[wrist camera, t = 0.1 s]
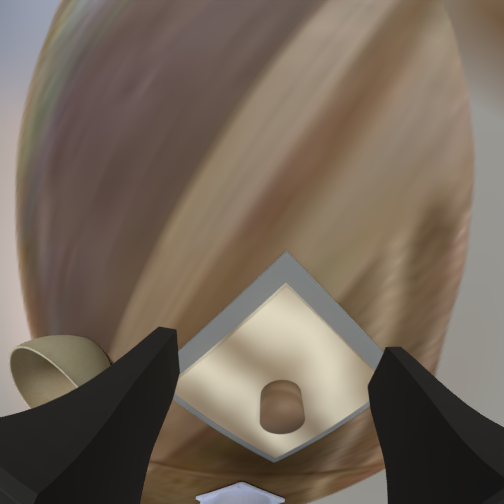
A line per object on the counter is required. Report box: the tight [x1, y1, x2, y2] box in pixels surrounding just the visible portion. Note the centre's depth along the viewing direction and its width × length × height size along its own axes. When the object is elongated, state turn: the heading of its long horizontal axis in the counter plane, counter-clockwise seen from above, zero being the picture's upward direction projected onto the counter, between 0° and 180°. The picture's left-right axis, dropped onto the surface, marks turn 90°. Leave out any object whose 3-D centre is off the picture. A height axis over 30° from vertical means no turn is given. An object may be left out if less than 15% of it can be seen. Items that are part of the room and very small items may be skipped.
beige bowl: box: [8, 335, 111, 409], centre depth 18 cm, size 10×10×7 cm
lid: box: [175, 283, 375, 458], centre depth 19 cm, size 13×13×4 cm
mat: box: [173, 250, 384, 463], centre depth 21 cm, size 16×16×1 cm
